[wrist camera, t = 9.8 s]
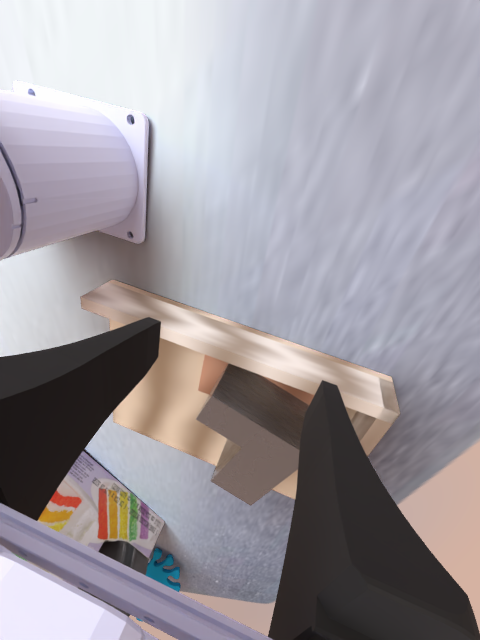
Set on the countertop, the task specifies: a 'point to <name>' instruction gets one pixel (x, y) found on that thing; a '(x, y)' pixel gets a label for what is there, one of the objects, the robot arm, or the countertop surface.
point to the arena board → (210, 361)
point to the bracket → (253, 432)
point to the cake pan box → (102, 517)
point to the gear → (163, 571)
